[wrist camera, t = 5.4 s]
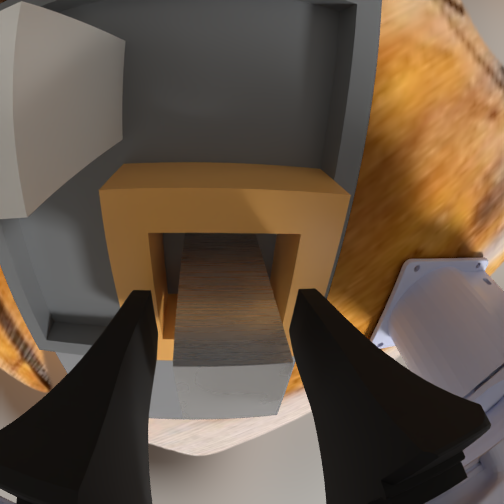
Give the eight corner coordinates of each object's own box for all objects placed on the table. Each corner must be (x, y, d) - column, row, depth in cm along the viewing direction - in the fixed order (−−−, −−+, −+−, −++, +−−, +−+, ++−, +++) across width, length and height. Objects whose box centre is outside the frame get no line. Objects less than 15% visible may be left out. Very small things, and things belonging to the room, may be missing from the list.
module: (125, 41, 8) (15, -1, 2) (122, 139, 10) (22, 222, 4) (37, 59, 7) (-96, 73, 1) (39, 148, 9) (-79, 229, 3)
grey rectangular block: (254, 231, 13) (293, 362, 7) (248, 285, 14) (275, 414, 9) (185, 229, 12) (172, 366, 7) (186, 285, 14) (183, 418, 8)
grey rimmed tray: (353, 3, 9) (404, -16, 5) (297, 324, 18) (315, 375, 15) (6, 19, 6) (-45, 15, 3) (51, 321, 15) (32, 368, 12)
